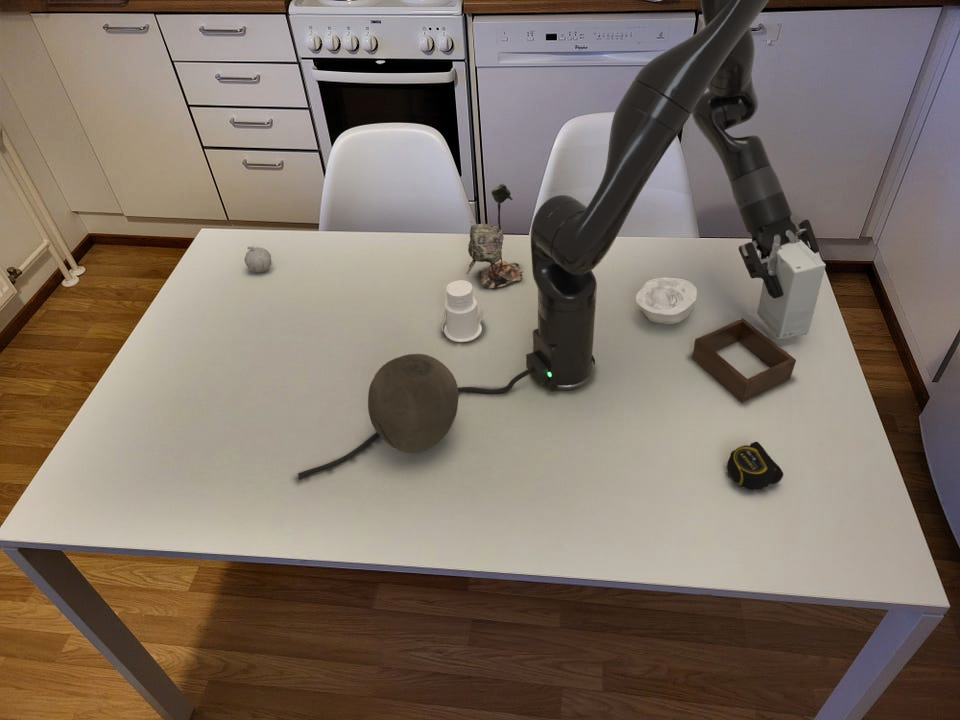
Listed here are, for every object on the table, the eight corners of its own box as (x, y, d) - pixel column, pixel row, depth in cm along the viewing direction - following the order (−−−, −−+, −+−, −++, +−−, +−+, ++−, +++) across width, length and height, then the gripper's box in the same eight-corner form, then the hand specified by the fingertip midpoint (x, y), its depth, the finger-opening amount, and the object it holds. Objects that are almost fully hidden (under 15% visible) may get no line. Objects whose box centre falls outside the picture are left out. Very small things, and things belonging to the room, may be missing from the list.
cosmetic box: (808, 334, 134) (830, 266, 124) (776, 341, 134) (796, 272, 123) (783, 305, 140) (803, 237, 130) (753, 311, 140) (770, 243, 129)
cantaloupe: (468, 460, 121) (462, 394, 110) (378, 475, 119) (363, 409, 109) (455, 397, 131) (448, 330, 121) (372, 410, 130) (358, 344, 119)
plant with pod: (468, 265, 158) (461, 179, 144) (523, 264, 157) (521, 177, 143) (466, 290, 152) (458, 202, 138) (523, 289, 151) (521, 201, 138)
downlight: (477, 314, 147) (474, 271, 140) (489, 337, 142) (487, 294, 135) (437, 324, 145) (432, 282, 138) (448, 347, 140) (443, 305, 133)
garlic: (241, 268, 161) (235, 247, 158) (264, 257, 164) (258, 236, 160) (256, 280, 158) (250, 259, 155) (279, 268, 161) (273, 248, 157)
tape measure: (781, 486, 114) (787, 470, 111) (741, 499, 113) (745, 483, 110) (756, 453, 119) (760, 437, 116) (716, 465, 117) (720, 449, 115)
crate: (741, 403, 126) (747, 383, 123) (691, 358, 135) (695, 339, 132) (790, 379, 130) (796, 359, 127) (738, 337, 138) (742, 317, 135)
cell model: (707, 316, 143) (713, 287, 138) (659, 342, 138) (664, 313, 133) (668, 289, 149) (672, 260, 144) (621, 314, 144) (624, 285, 140)
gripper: (740, 205, 124) (778, 300, 125) (807, 179, 129) (843, 271, 129) (713, 217, 132) (748, 307, 132) (777, 192, 136) (811, 280, 136)
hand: (795, 289), depth 131 cm, fingers closed on cosmetic box, 7 cm apart
